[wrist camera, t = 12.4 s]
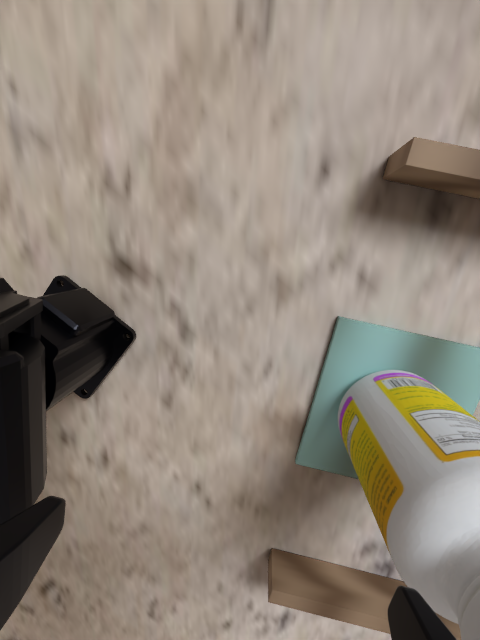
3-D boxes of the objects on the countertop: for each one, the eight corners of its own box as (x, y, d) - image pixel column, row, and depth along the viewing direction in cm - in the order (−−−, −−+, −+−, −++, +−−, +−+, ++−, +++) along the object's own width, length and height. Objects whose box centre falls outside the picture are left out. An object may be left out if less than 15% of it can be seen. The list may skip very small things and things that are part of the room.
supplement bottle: (371, 472, 21) (523, 795, 9) (315, 403, 20) (392, 649, 8) (460, 422, 20) (796, 721, 7) (403, 345, 19) (669, 532, 6)
